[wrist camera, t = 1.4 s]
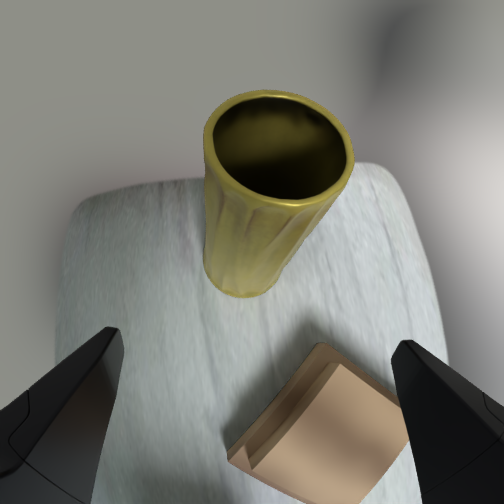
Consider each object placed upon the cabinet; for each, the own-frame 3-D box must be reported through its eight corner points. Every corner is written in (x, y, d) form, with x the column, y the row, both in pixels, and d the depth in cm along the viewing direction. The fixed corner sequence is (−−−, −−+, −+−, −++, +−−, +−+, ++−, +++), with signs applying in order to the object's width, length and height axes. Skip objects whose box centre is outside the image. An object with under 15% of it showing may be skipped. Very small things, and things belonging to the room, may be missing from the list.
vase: (296, 250, 23) (386, 136, 10) (254, 314, 21) (321, 262, 8) (232, 209, 24) (254, 63, 10) (187, 268, 22) (149, 153, 8)
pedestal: (329, 506, 17) (347, 527, 13) (226, 451, 18) (229, 473, 14) (405, 409, 20) (433, 416, 16) (317, 343, 21) (337, 342, 17)
